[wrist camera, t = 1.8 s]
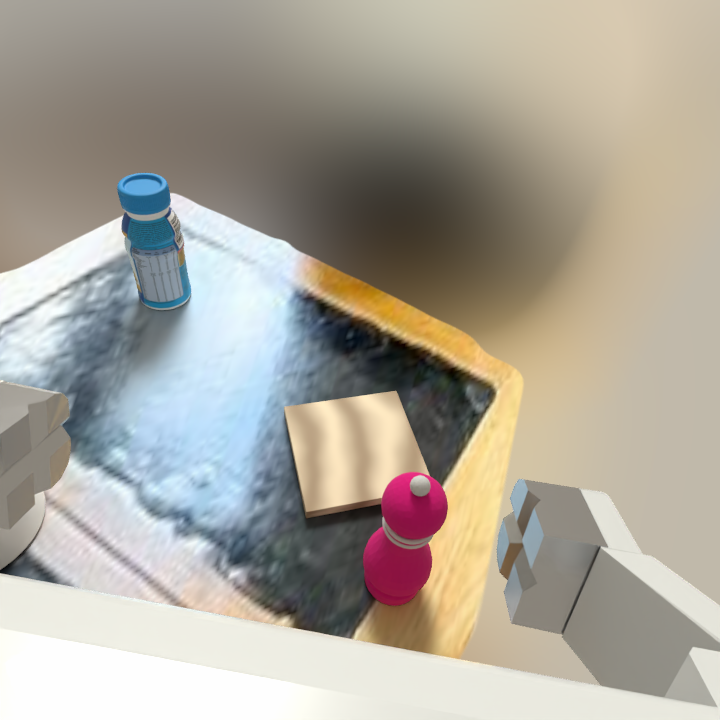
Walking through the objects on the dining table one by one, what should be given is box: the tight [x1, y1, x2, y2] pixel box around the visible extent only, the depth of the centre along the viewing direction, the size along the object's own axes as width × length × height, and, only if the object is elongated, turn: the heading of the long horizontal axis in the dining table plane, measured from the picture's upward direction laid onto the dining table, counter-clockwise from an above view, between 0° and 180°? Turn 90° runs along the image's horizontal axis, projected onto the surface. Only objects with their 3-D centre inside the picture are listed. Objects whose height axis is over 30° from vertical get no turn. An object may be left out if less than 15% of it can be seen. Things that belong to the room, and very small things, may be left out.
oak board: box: [284, 391, 430, 518], centre depth 72 cm, size 16×16×2 cm
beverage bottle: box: [117, 173, 191, 310], centre depth 84 cm, size 8×8×20 cm
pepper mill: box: [363, 472, 448, 606], centre depth 54 cm, size 7×7×20 cm
